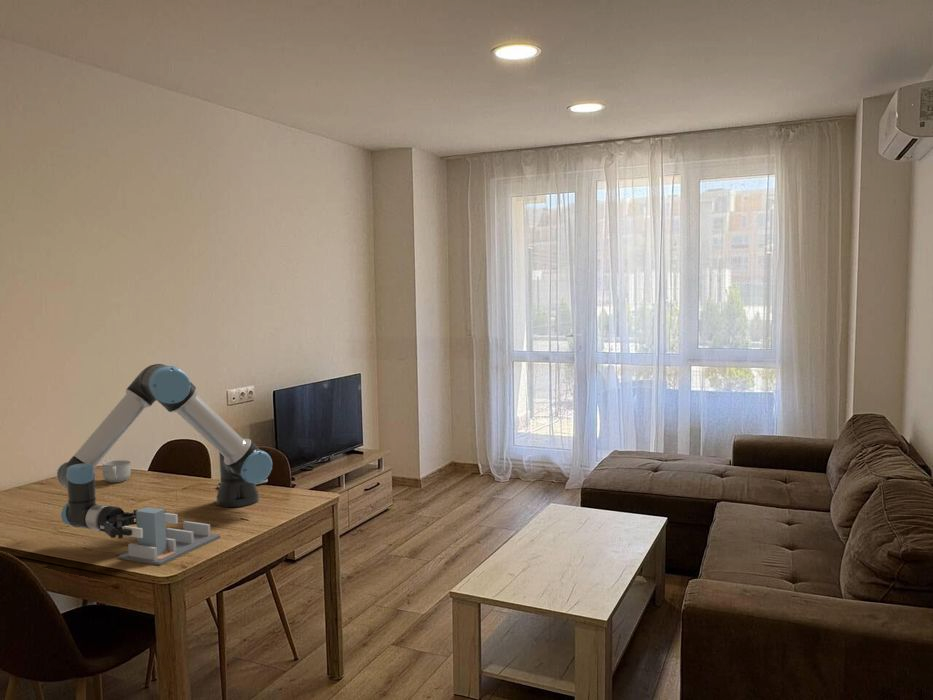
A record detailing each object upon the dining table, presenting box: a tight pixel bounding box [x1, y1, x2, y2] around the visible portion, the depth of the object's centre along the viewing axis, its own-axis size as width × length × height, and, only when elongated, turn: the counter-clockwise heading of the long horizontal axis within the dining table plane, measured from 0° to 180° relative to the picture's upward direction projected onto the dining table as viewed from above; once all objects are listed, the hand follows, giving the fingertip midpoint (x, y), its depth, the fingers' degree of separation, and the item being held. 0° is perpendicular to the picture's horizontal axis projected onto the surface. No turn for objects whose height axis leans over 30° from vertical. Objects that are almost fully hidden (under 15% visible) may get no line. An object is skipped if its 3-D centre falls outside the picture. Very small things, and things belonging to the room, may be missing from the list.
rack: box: [118, 520, 221, 566], centre depth 225 cm, size 25×16×4 cm, turn 158°
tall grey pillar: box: [135, 506, 167, 556], centre depth 217 cm, size 4×7×13 cm, turn 69°
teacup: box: [101, 459, 132, 483], centre depth 303 cm, size 14×11×8 cm
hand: (159, 525), depth 216 cm, fingers open, 13 cm apart
